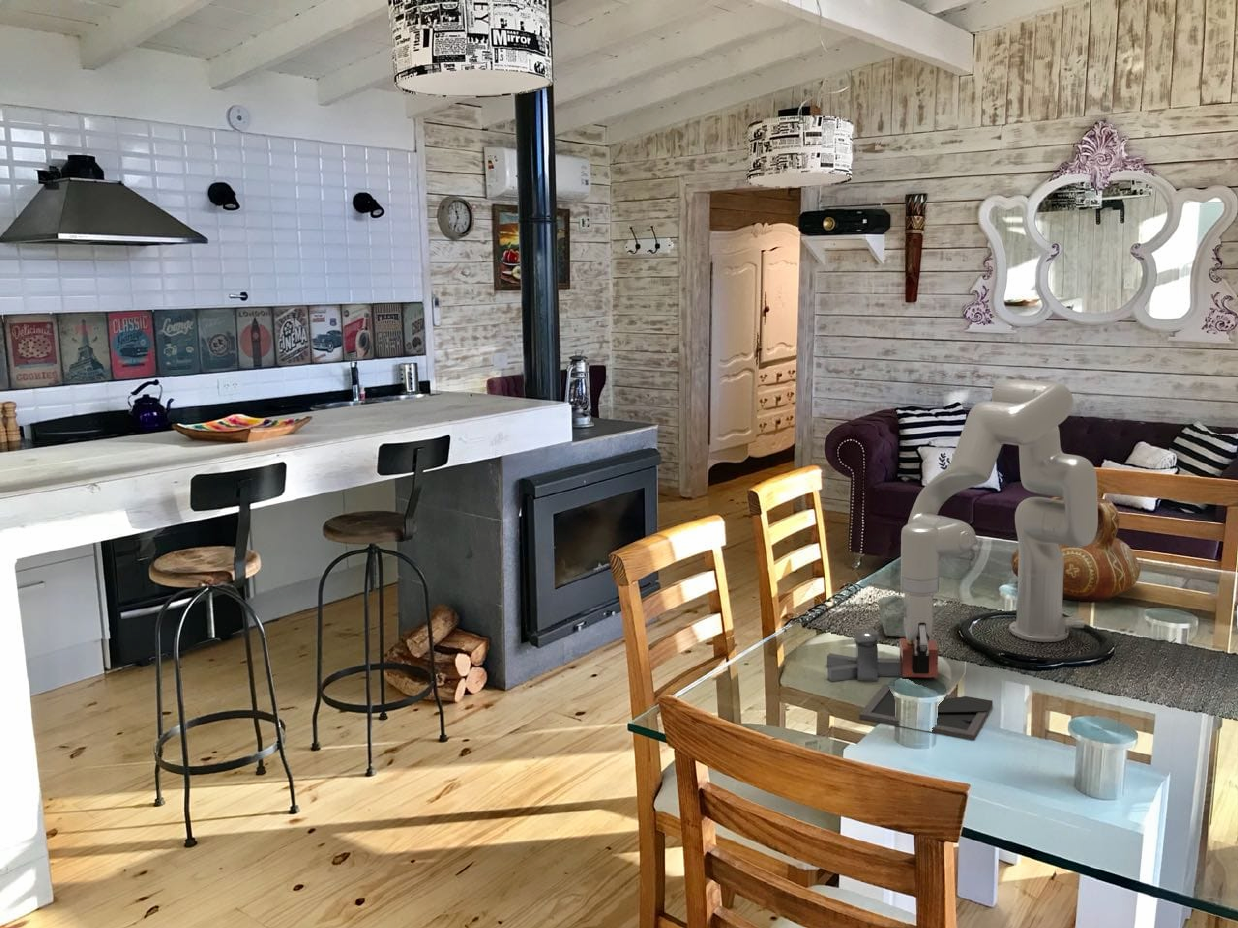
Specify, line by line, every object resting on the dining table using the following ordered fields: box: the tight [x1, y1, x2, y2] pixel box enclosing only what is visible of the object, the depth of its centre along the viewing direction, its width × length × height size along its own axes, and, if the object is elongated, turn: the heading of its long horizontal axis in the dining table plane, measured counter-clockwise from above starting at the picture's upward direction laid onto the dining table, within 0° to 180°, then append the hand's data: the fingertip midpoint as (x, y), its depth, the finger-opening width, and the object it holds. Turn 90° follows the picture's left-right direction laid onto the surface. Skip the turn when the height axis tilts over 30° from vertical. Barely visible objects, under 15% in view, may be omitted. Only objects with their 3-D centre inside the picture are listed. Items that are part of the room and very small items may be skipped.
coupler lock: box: [899, 637, 939, 679], centre depth 216 cm, size 7×6×7 cm
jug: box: [1010, 496, 1141, 604], centre depth 265 cm, size 30×30×25 cm
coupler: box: [826, 628, 902, 683], centre depth 218 cm, size 22×10×9 cm, turn 80°
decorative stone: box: [877, 595, 906, 638], centre depth 243 cm, size 13×11×10 cm
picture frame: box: [858, 683, 994, 742], centre depth 199 cm, size 16×2×21 cm
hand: (918, 665), depth 217 cm, fingers closed on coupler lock, 6 cm apart
